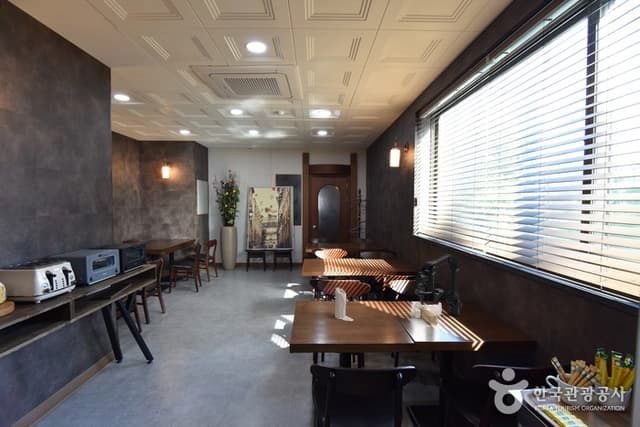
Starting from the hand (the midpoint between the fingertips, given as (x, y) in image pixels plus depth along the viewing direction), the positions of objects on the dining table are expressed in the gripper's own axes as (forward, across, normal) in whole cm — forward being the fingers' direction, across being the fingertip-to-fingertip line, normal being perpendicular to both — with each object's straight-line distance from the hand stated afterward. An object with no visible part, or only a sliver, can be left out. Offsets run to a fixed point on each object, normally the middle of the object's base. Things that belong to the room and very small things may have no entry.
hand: (428, 304), depth 213 cm
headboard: (+11, -5, -8) cm, 14 cm away
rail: (+11, 0, 0) cm, 11 cm away
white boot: (+11, +55, -11) cm, 57 cm away
